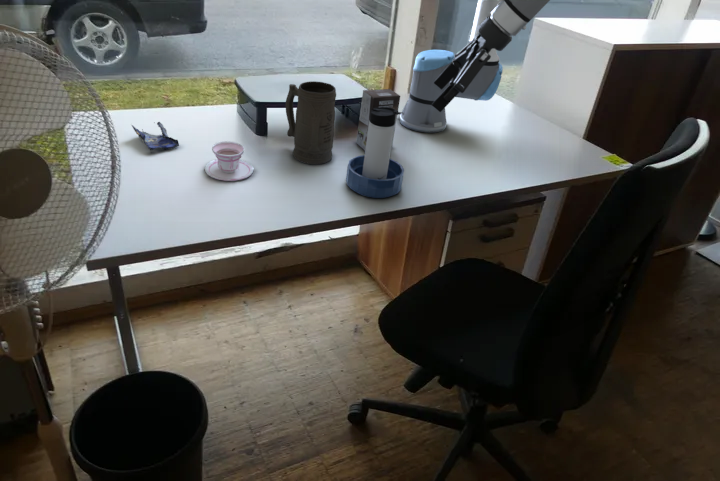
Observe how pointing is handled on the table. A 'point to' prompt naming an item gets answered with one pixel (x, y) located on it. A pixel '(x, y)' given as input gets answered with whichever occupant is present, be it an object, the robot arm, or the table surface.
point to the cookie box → (370, 102)
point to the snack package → (157, 139)
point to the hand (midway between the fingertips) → (436, 96)
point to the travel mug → (379, 142)
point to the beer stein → (312, 121)
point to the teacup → (228, 162)
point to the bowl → (374, 186)
